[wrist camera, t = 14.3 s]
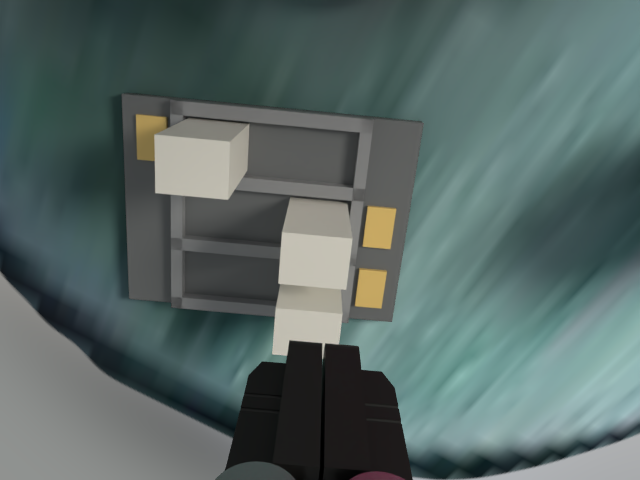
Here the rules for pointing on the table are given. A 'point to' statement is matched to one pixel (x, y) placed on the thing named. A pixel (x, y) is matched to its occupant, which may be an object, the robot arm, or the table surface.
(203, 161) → the tab inner
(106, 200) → the table surface
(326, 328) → the block
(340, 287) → the tab middle
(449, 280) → the table surface
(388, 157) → the switch box
